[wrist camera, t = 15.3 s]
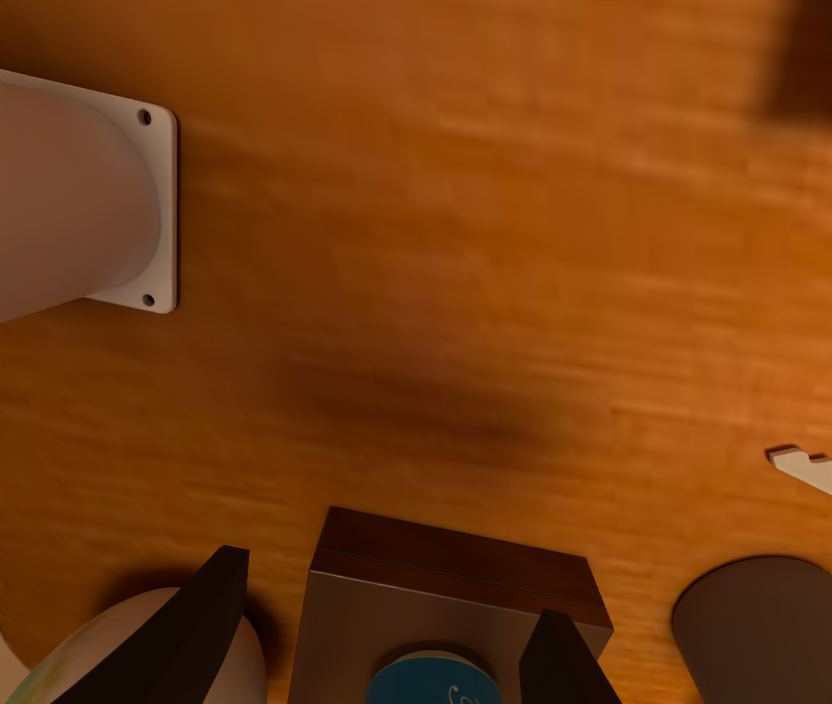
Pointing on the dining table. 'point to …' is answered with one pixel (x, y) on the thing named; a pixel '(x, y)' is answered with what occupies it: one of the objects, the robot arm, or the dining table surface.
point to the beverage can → (432, 681)
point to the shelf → (429, 604)
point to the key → (804, 467)
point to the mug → (759, 633)
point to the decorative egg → (87, 646)
